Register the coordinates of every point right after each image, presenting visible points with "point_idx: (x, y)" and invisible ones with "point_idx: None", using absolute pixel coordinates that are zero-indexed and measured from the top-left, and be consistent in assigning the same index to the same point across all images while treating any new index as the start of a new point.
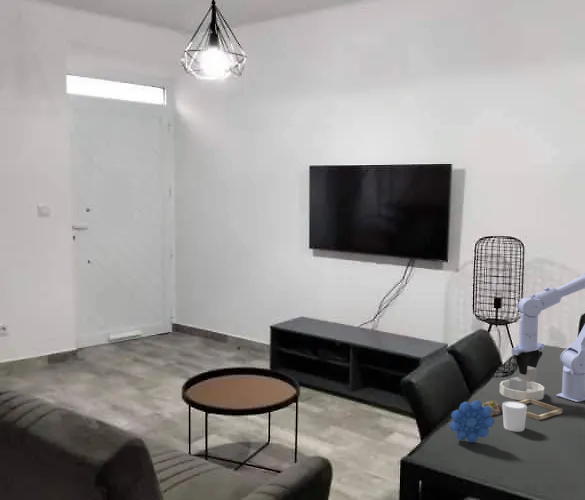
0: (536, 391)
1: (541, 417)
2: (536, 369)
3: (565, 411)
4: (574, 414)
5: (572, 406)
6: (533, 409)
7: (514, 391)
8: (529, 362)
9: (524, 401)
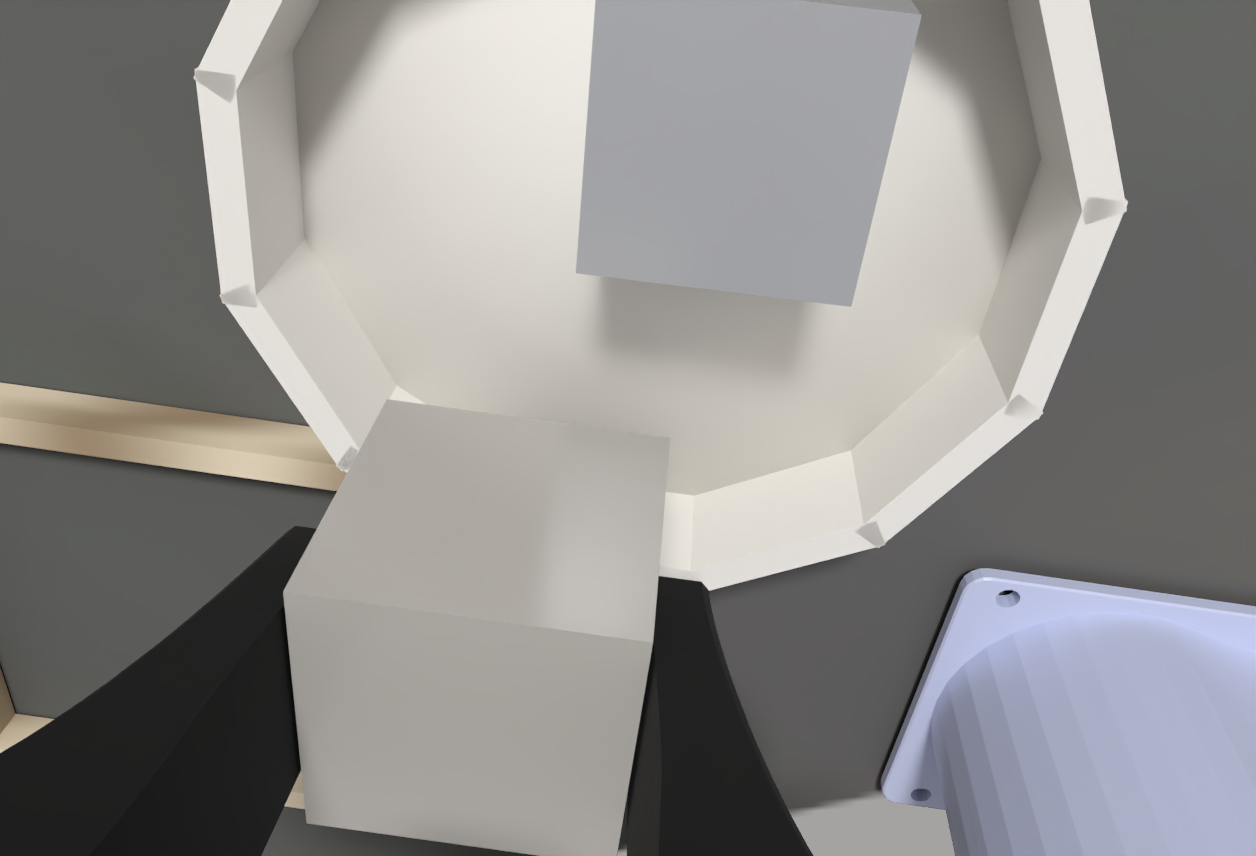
0: None
1: None
2: (589, 838)
3: None
4: (476, 851)
5: None
6: (210, 581)
7: (241, 312)
8: (650, 798)
9: (236, 469)
